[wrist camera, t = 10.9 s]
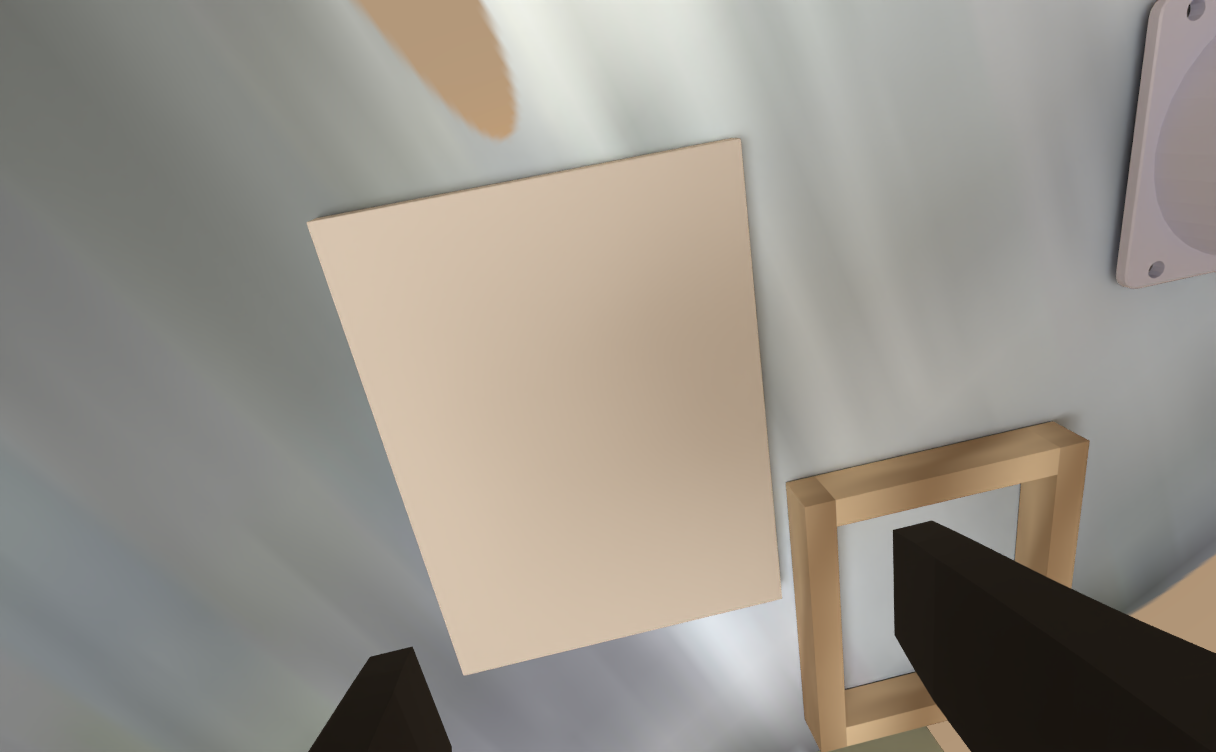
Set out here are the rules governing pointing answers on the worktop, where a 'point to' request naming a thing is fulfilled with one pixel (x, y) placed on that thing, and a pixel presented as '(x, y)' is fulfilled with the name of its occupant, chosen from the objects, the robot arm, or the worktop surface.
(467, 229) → the beige mat
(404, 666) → the robot arm
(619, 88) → the worktop surface
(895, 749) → the green block
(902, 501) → the wooden square frame
